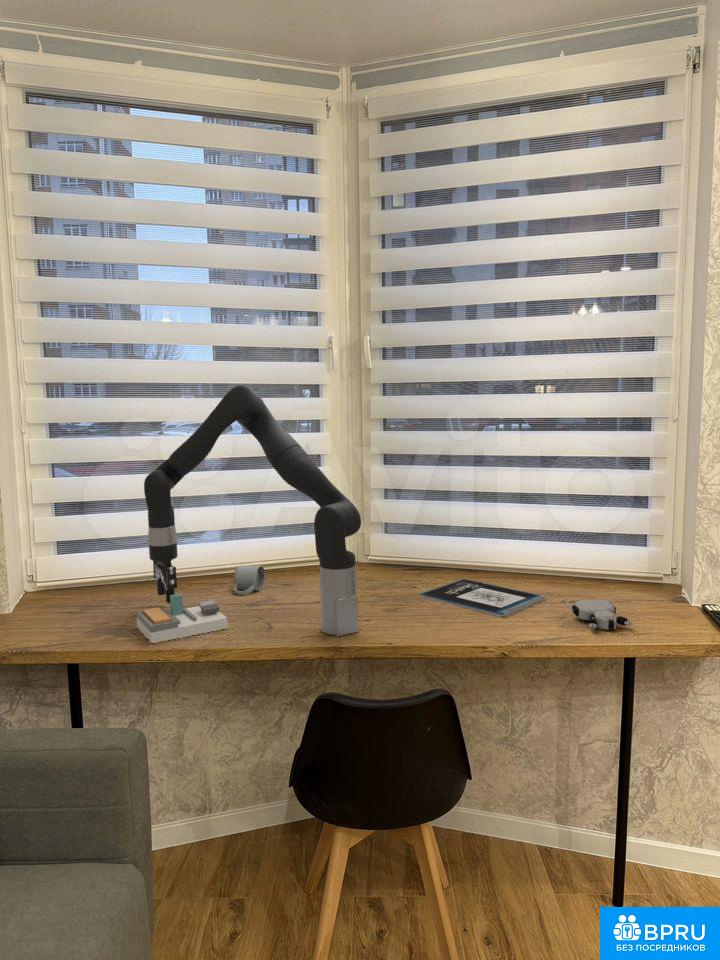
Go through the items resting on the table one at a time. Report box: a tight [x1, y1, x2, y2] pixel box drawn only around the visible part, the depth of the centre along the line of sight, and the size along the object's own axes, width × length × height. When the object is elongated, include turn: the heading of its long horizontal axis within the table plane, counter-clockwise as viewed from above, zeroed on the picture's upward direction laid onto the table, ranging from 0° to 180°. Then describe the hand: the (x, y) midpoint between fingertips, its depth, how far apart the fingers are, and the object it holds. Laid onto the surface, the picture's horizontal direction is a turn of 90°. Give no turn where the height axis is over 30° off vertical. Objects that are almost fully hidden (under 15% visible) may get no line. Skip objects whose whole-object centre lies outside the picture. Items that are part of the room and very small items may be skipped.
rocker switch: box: [198, 599, 220, 614], centre depth 196 cm, size 5×4×2 cm
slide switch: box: [169, 593, 184, 615], centre depth 195 cm, size 2×3×5 cm
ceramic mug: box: [233, 564, 266, 596], centre depth 225 cm, size 11×8×8 cm
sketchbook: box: [419, 578, 546, 619], centre depth 214 cm, size 22×30×2 cm
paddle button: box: [142, 606, 171, 625], centre depth 189 cm, size 11×4×2 cm, turn 31°
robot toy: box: [566, 598, 633, 631], centre depth 191 cm, size 12×4×15 cm
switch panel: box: [136, 605, 229, 644], centre depth 192 cm, size 14×20×5 cm
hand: (166, 598), depth 204 cm, fingers open, 8 cm apart
